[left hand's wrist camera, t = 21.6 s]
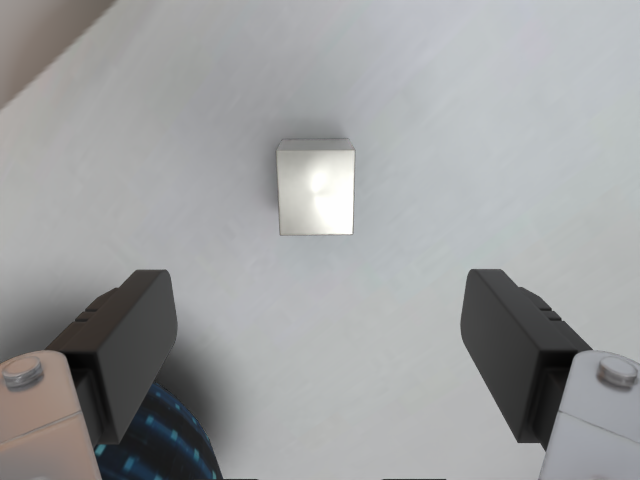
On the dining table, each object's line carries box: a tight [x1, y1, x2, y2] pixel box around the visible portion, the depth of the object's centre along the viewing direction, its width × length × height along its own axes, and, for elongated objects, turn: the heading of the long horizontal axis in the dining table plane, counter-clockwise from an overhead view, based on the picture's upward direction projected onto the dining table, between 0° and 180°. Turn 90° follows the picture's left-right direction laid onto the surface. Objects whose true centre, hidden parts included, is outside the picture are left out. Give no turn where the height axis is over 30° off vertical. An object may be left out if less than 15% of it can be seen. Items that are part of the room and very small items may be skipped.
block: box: [276, 139, 355, 236], centre depth 23 cm, size 4×5×4 cm
